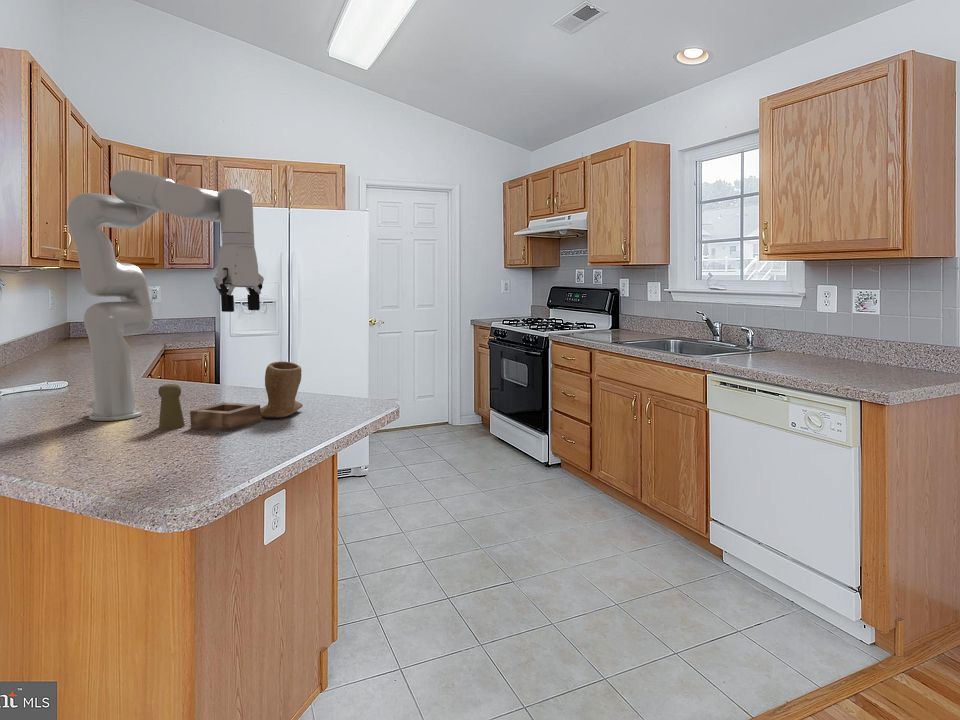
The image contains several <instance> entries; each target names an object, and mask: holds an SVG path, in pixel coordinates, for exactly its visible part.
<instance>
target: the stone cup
mask: <svg viewBox="0 0 960 720" xmlns="http://www.w3.org/2000/svg"><path fill="white" fill-rule="evenodd" d="M301 381H302V367H301V366H300V365H299V364H298V363H295V362H291V361H283V360H281V361H273V362H271V363H270V364H268V365H267V367H266V369H265V374H264V388H265V390H266V394H267V400H268V403H267V404H266V405H265V406H262V407H260V410H261V418H262V417H263V418H286V417H288V416H291V415H292V414H294V413H296V412H298V411H299V410H300V409H302V408H303V404H302V403H301V402H299V401H297V400H296V397H297V394H298V393H297V392H298V390H299V388H300V384H301Z"/></svg>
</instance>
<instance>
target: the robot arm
mask: <svg viewBox="0 0 960 720" xmlns="http://www.w3.org/2000/svg"><path fill="white" fill-rule="evenodd" d="M110 190H111V191H112V194H113V195H110V194H105V193H98V192H97V193H96V192H84V193H79V194H77V195H76V196H74V197H73V198H72V200H71V201H70V203H68V208H67V210H66V211H67V212H66V219H67V225H68V228H69V231H70V232H69V233H70V234H71V236H72V239H73V242H74V245H75V248H76V252H77V253H76V254H77V259H78V262H79V263H78V264H79V267H80V274H81V278H82V283H83V285H84V290H85V291H86V293H88V294H89V295H90V296H92V297H98V298H119V299H120V301H99V302H97V303H96V302H95V303H93V304H92V305H89V307H88V308H87V309H85V311H84V314H83V324H84V327H85V330H86V334H87V338H88V342H89V348H90V358H91V368H92V383H93V396H94V397H93V398H94V400H92V401H91V402H90V403H87V404H86V408H87V409H92V413H89V414H88V419H89V420H90V421H97V422H107V421H108V422H110V421H120V420H121V421H122V420H129V419H133V418H137V417H140V416H141V415H143V411H142V409H140V408H137V407H136V400H135V399H136V398H135V386H134V385H135V382H134V370H133V369H134V368H133V356H132V350H131V347H130V346H129V344H128V342H127V340H126V338H125V337H124V336H135V335H136V336H137V335H142V334H145V333H147V332H149V330H151V327H152V325H153V321H154V320H153V318H154V317H153V316H154V314H153V310H152V304H151V299H150V293H149V287H148V283H147V279H146V277H145V274H144V273H143V271H142V270H141V269H140V268H139V266H136V265H135V264H132V263H128V262H118V261H117V259H116V256H115V254H116V253H115V249H114V246H113V244H112V241H111V239H110V238H109V237H108V235H107V234H106V233H105V232H104V231H103V229H102V228H103V227H104V228H105V227H106V228H112V229H113V228H114V229H121V230H123V229H124V230H134V229H136V228H139V227H140V226H142V225H143V224H145V223H146V222H148V220H149V219H151V218H152V217H153V216H155V215H156V214H157V213H158V212H161V213H166V214H170V215H175V216H178V217H182V218H186V219H193V220H199V221H208V222H213V223H220V236H221V245H220V246H219V251H218V256H217V257H218V259H217V273H216V274H215V275H213V277H212V279H213V281H214V284H215V288H216V289H217V291H218V295H219V296H220V301H221V303H220V304H221V307H220V308H221V312H223V313H232V312H233V313H234V312H235V297H234V295H233V292H234V291H235V288H245V289H246V290H247V292H248V294H247V310H248V311H260V310H261V305H260V302H261V301H260V295H261V294H262V292H261V290H262V289H263V284H264V280H265V278H264V276H263V275H261V274H260V273H259V265H258V258H257V252H256V248H255V228H254V227H255V226H254V208H253V207H254V204H253V195H252V193H251V192H250V191H249V190H247V189H242V188H240V189H239V188H224V189H222V190H221V191H215V190H213V189H211V190H210V189H208V188H207V189H206V188H203V187H202V188H201V187H196V186H191V185H188V184H187V185H186V184H181V183H177V182H175V181H174V180H172V179H170V178H168V177H164V176H159V175H155V174H151V173H147V172H142V171H138V170H133V169H124V170H119V171H117V172H116V173H114V174H113V176H112V177H111V179H110Z"/></svg>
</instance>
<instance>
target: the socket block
mask: <svg viewBox="0 0 960 720" xmlns="http://www.w3.org/2000/svg"><path fill="white" fill-rule="evenodd" d="M260 408H261V404H254V403H253V404H250V403H237V402H225V401H223V402H220V403H219V402H218V403H215V404H212V405H208V406H204V407H200V408H196V409H193V410H189V415H190V429H194V430H195V429H197V430H207V431H208V430H209V431H219V432H228V433H229V432H233V431H236V430H239V429H243V428H246V427H249V426H252V425H255V424H257V423H261V422H262V416H261V410H260Z"/></svg>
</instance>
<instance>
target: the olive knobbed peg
mask: <svg viewBox="0 0 960 720" xmlns="http://www.w3.org/2000/svg"><path fill="white" fill-rule="evenodd" d="M181 388H182V387H181V386H180V385H179V384H177V383H176V384H174V383H167V384H162V385H161V386H159V388H158V395H159V397H160V398H161V399H160V411H159V420H158V421H159V422H158V429H160V430H175V429H180V428H181V429H182V428H184V427H185V426H186V423H185V420H184V419H185V418H184V415H183V410H182V404H181V400H180V396H181V394H182V389H181Z"/></svg>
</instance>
